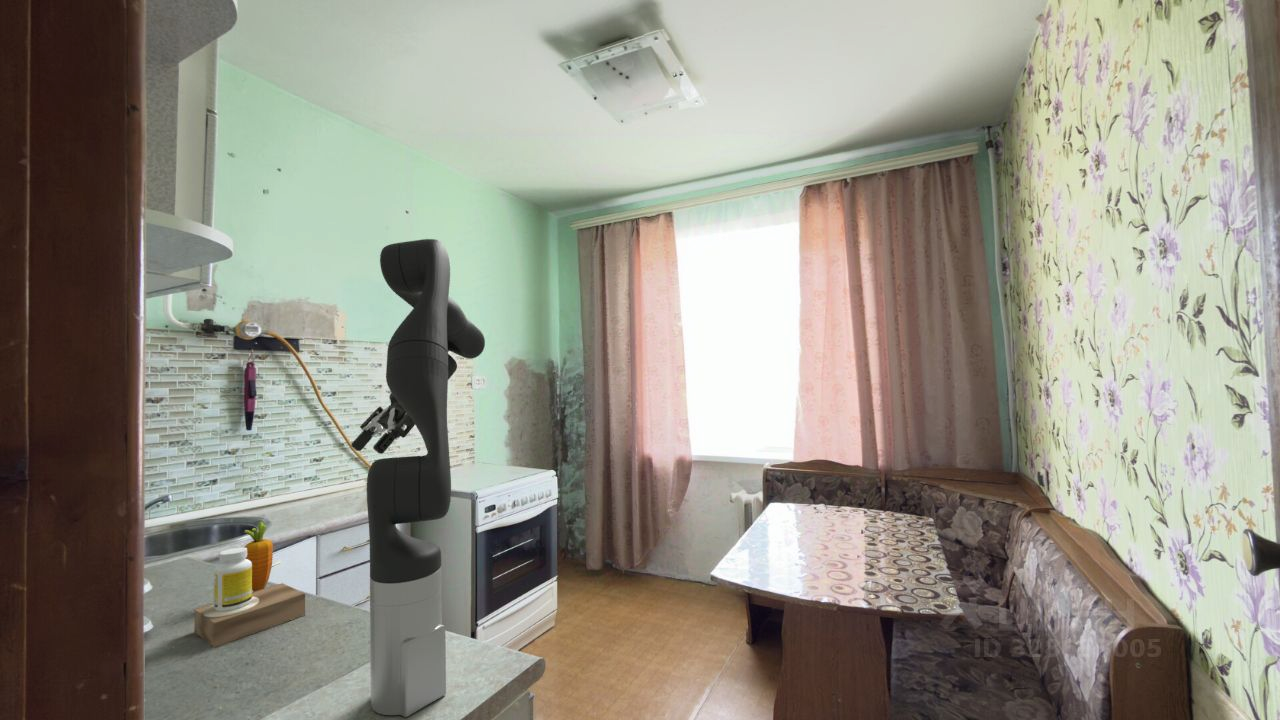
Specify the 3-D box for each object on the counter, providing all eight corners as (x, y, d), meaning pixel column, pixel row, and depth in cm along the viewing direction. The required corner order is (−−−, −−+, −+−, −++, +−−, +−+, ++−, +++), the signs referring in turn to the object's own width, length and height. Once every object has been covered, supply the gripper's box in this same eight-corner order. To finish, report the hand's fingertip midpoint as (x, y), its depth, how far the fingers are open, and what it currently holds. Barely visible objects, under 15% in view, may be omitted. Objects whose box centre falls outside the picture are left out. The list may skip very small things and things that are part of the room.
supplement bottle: (259, 599, 97) (259, 546, 97) (231, 612, 91) (231, 556, 92) (234, 598, 98) (234, 545, 98) (206, 611, 92) (206, 555, 93)
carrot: (257, 601, 107) (257, 527, 107) (237, 599, 108) (237, 526, 108) (278, 591, 111) (278, 520, 112) (259, 589, 112) (259, 519, 113)
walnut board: (305, 614, 100) (305, 592, 100) (214, 647, 88) (214, 621, 88) (282, 603, 105) (282, 581, 105) (194, 632, 94) (194, 607, 94)
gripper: (388, 379, 116) (334, 436, 106) (425, 378, 108) (371, 439, 98) (410, 402, 120) (360, 459, 110) (448, 402, 112) (398, 463, 102)
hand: (365, 449), depth 104 cm, fingers open, 8 cm apart
